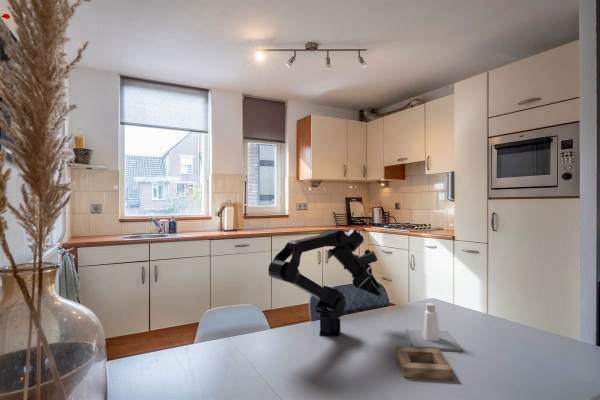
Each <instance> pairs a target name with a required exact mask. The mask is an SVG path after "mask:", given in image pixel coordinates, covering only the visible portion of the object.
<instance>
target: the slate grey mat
mask: <svg viewBox="0 0 600 400" xmlns="http://www.w3.org/2000/svg"><path fill="white" fill-rule="evenodd" d="M404 332H405V334H406V335H407V338H408V340H409V342H410V345H411V347H412V348H429V349H439V350H440V351H447V352H463V348H462V347H461V345H460V344H459V343H458V342H457V341H456V339H455V338H454V336H453V335H452V334H451V333H450V332H449V331H448V330H439V335H440V339H439V341H428V340H425V339H424V338H423V337H422V335H423V329H412V328H411V329H409V328H406V329H405V331H404Z"/></svg>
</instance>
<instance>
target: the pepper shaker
mask: <svg viewBox="0 0 600 400" xmlns="http://www.w3.org/2000/svg"><path fill="white" fill-rule="evenodd" d="M425 308H426V309H425V310H424V315H423V327H422V330H423V335H422V337H423V338H424V339H425V340H428V341H439V339H440V335H439V331H440V329H439V327H440V326H439V319H438V313H437V311H436V304H435V303H433V302H427V303H426V304H425Z"/></svg>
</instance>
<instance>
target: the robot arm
mask: <svg viewBox="0 0 600 400" xmlns="http://www.w3.org/2000/svg"><path fill="white" fill-rule="evenodd" d="M364 241H365V238H364V237H363V235H362V234H361V233H360V232H358V231H357V230H356V229H355V228H350V230H349V231H348V232H347V233H346V232H345V231H344V230H343V229H333V228H328V229H326V230H323V231H322V232H320V234H318V235H313V236H310V237H304V238H299V239H296V240H289V241H288V242H287V243H286V244H285V245H284V247H283V248H282V249H281V250H280V251H279V252H278V253H277V254H276V255H275V257H274V258H273V260H272V261H271V262H270V263H269V265H268V276H270V277H271V278H272V279H275V280H279V281H283V282H286V283H289V284H291V285H293V286H295V287H296V288H298V289H300V290H302V291H304V292H306V293H307V294H309V295H311V296H312V297H314V298H316V299H317V304H316V305H315V307H314V311H315V313H316V314H318V315H319V336H328V337H339V336H340V333H341V317H343V316H344V313H345V312H344V311H345V307H346V297H345V296H346V295H344V294H343V292H342V291H340V290H338V288H336V287H331V286H328V285H326V284H325V285H323V286H322V285H320V284H319V283H316V282H315V281H313V280H311V279H310V278H308V277H306V276H305V275H303V274H302V273H301V272H300V270H299V267H300V263H301V257H302V254H303V253H306V252H309V251H314V250H317V249H320V248H324V247H333V248H329V249H328V250H327V259H331V258H332V257H334V258H335V259H336V260H337V261H338V262H339V263H340V265H342V266H343V269H344V270H347V272H349V274H351V277H352V285H353V286H354V287H355V288H356V289H360V290H362V291H365V292H368V293H370V294H373V295H374V296H377V297H379V296H381V295H382V294H381V292H380V290H379V289H380V288H381V286H380V284H379V282H378V281H377V279H376V278H375V276H374V275H373V272H372V271H373V269H372V268H373V267H372V265H371V264H372V263H376V262H377V261H378V256H377V255H376V253H375V251H374V250H370V249H365V250H364V254H362V255H360V256H359V255H358V254H354V253H353V252H356V250H357V249H358V248H359V247H360V246H361V245H362V244H363V243H364ZM290 257H291V258H290ZM289 258H290V260H289V261H286V260H287V259H289Z"/></svg>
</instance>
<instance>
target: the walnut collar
mask: <svg viewBox="0 0 600 400" xmlns="http://www.w3.org/2000/svg"><path fill="white" fill-rule="evenodd" d="M395 356H396V359H397V362H398V365H399V368H400V371H401V375H402V378H411V379H412V378H414V379H417V378H418V379H432V380H445V381H446V380H447V381H448V380H449V381H450V380H451V381H453V380H454V371H453V370H454V369H453V368H452V367H451V365H450V363H449V362H448V360H447V358H445V356H444V354H443V353H442V350H439V349H429V348H413V347H403V346H395ZM412 361H415V362H412ZM416 361H419V363H418V362H416ZM420 362H432V363H420Z"/></svg>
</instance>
